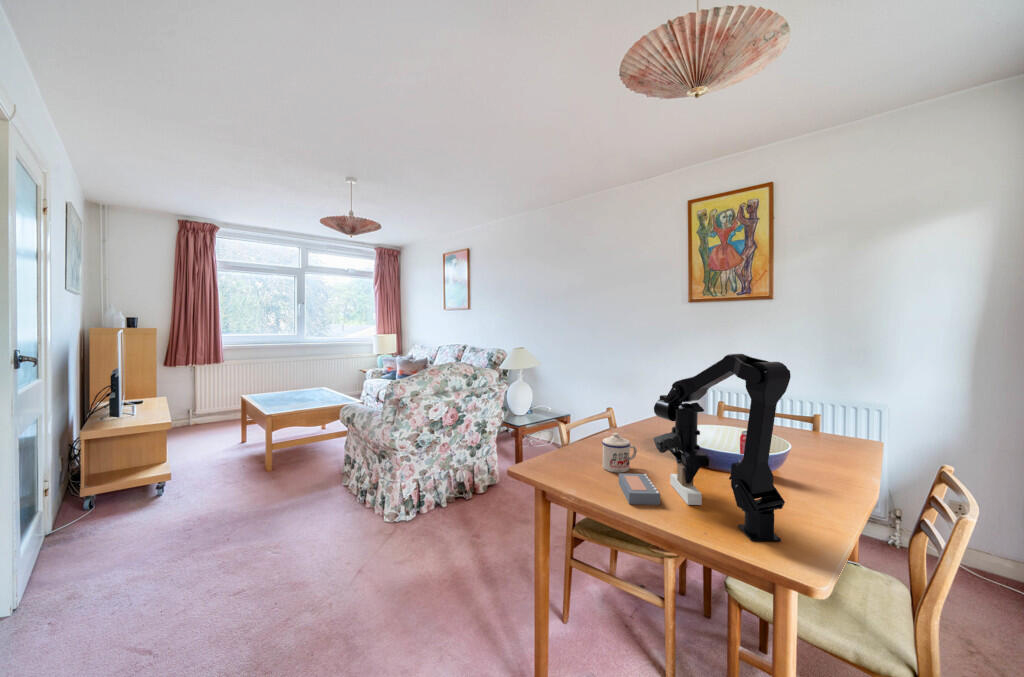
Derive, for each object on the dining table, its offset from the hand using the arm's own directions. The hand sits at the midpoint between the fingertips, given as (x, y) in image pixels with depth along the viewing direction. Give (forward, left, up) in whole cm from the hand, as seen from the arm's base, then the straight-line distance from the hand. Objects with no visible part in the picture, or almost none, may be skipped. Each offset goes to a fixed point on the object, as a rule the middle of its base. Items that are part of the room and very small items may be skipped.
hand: (685, 480), depth 114 cm
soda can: (+17, -27, -4) cm, 32 cm away
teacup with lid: (+20, +14, -4) cm, 25 cm away
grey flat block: (0, +13, -4) cm, 14 cm away
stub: (0, 0, -4) cm, 4 cm away
